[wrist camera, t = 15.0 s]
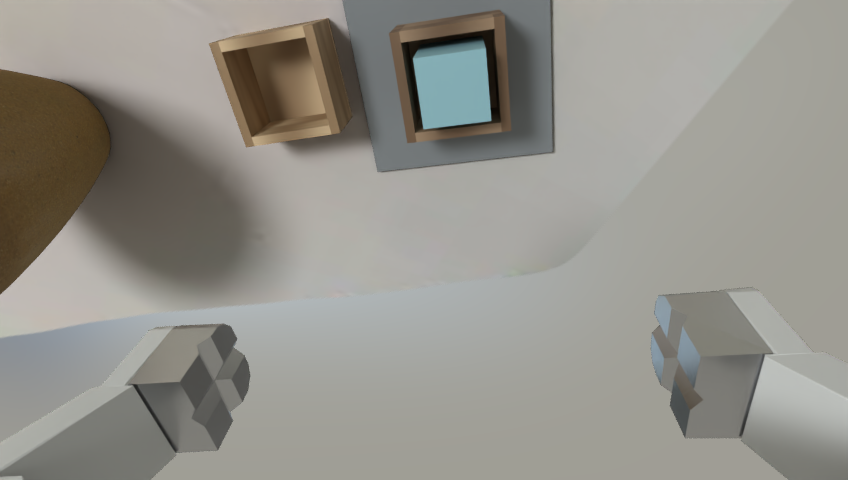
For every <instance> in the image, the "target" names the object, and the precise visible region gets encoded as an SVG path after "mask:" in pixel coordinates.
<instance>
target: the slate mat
mask: <svg viewBox="0 0 848 480" xmlns="http://www.w3.org/2000/svg"><path fill="white" fill-rule="evenodd" d="M342 1H343V5H344V10H345V15H346V20H347V25H348V30H349V35H350V40H351V44H352V49H353V54H354V59H355V64H356V69H357V74H358V79H359V83H360V88H361V93H362V98H363V103H364V108H365V113H366V118H367V122H368V127H369V132H370V137H371V142H372V147H373V152H374V156H375V161H376V166H377V171H378V172H381V171H390V170H398V169H407V168H416V167H425V166H433V165H442V164H451V163H460V162H468V161H477V160H486V159H495V158H503V157H512V156H521V155H530V154H539V153H547V152H553V145H552V81H551V16H550V0H342ZM493 10H500V11H501V12H502V13H503V14H504V15H505V31H506V48H507V65H508V83H509V100H510V117H511V131H505V132H497V133H489V134H481V135H472V136H464V137H456V138H448V139H439V140H431V141H423V142H415V143H407V138H406V132H405V126H404V120H403V114H402V108H401V102H400V97H399V91H398V85H397V79H396V73H395V67H394V61H393V55H392V49H391V43H390V37H389V33H390V32H391V31H392V30H393V29H394V28H395V27H396V26H397V25H402V24H409V23H415V22H422V21H428V20H435V19H441V18H448V17H454V16H461V15H467V14H474V13H480V12H487V11H493Z"/></svg>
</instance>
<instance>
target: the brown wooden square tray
mask: <svg viewBox="0 0 848 480" xmlns="http://www.w3.org/2000/svg"><path fill="white" fill-rule="evenodd" d="M481 35H482V37H483V41H484V44H485V47H486V58H487V71H488V84H489V97H490V109H491V121H487V122H479V123H471V124H463V125H455V126H446V127H438V128H430V129H423V122H422V116H421V109H420V102H419V95H418V89H417V82H416V75H415V69H414V62H413V58H414V56H415V54H416V52H417V50H418V48H419V46H420V44H427V43H434V42H441V41H447V40H454V39H461V38H468V37H475V36H481ZM389 37H390V43H391V49H392V55H393V61H394V67H395V73H396V79H397V85H398V91H399V97H400V102H401V108H402V114H403V120H404V126H405V132H406V138H407V143H415V142H423V141H431V140H439V139H448V138H456V137H464V136H472V135H481V134H489V133H497V132H505V131H511V117H510V100H509V83H508V65H507V48H506V31H505V15H504V14H503V13H502V12H501V11H500V10H493V11H487V12H480V13H474V14H467V15H461V16H454V17H448V18H441V19H435V20H428V21H422V22H415V23H409V24H402V25H397V26H396V27H395V28H394V29H393V30H392V31H391V32H390V33H389Z"/></svg>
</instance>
